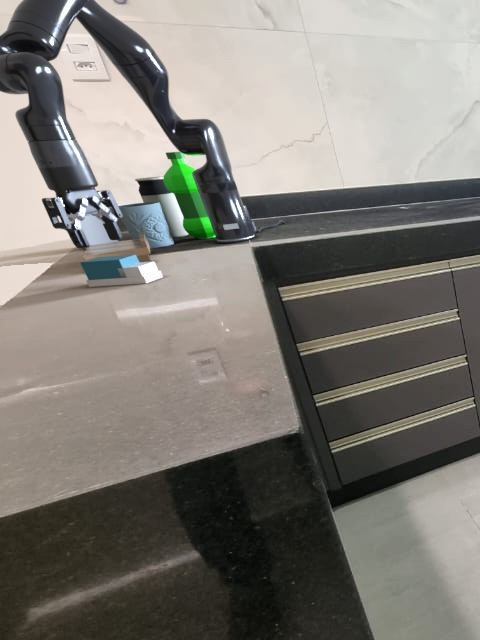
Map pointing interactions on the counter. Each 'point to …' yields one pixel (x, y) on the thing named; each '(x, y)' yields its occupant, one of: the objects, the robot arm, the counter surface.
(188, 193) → the plastic bottle
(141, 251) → the wooden tray
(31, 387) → the counter surface
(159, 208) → the blue embossed mug
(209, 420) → the counter surface
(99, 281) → the two-tone teal block
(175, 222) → the travel mug
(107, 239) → the milk carton
